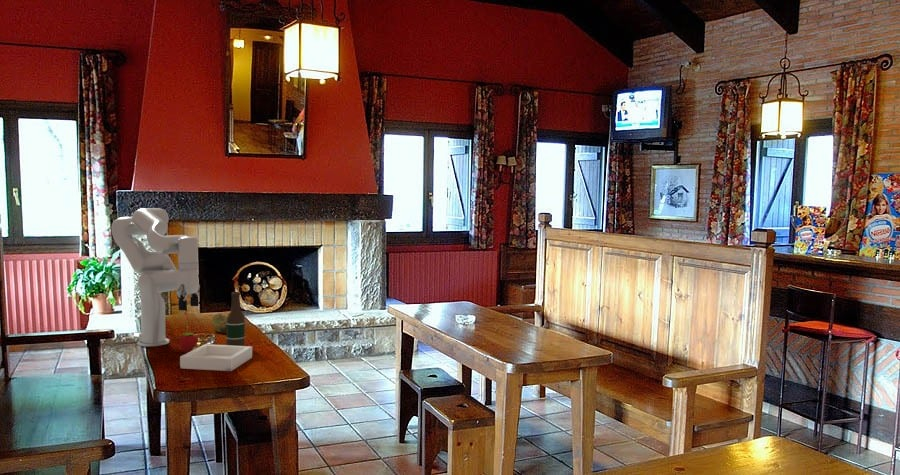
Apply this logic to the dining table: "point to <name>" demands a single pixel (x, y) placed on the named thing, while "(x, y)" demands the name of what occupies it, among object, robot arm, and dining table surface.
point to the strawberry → (188, 341)
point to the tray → (216, 357)
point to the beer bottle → (235, 323)
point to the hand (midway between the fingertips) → (188, 308)
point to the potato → (219, 323)
